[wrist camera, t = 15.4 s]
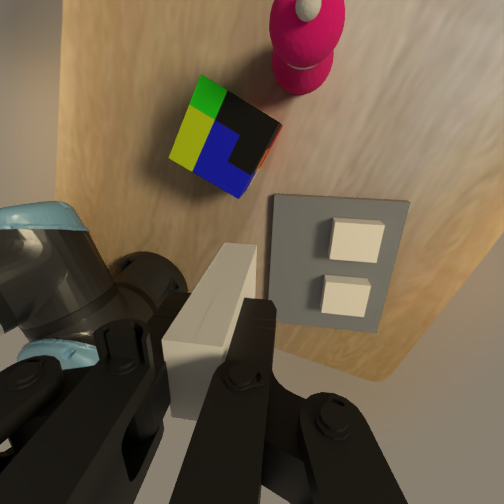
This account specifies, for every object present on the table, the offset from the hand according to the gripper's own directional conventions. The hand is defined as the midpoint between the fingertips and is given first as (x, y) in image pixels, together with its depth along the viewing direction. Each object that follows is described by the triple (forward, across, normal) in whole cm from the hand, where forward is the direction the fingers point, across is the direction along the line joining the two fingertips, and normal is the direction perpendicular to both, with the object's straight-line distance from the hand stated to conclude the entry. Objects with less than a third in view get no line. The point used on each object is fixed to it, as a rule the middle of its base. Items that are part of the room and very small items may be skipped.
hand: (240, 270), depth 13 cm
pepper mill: (+33, +2, +14) cm, 36 cm away
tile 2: (+30, +9, -18) cm, 36 cm away
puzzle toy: (+33, -6, +5) cm, 34 cm away
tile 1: (+30, +9, -8) cm, 32 cm away
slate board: (+32, +10, -14) cm, 37 cm away
